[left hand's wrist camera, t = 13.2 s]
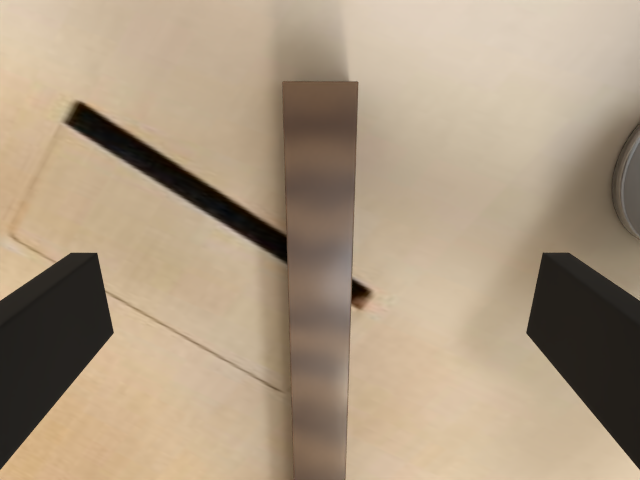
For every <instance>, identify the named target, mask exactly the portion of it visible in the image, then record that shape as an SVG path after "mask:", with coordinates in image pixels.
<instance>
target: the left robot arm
mask: <svg viewBox="0 0 640 480" xmlns="http://www.w3.org/2000/svg"><path fill="white" fill-rule="evenodd" d="M612 196H613V203H614V207H615V210H616V213H617V215H618V217H619V219H620V221H621V223H622V224H623V225H624V227H625V228H626V229H627V230H628V231H629V232H630V233H631V234H632V235H633V236H635V237H636V238H638V239H639V240H640V123H639V124H638V126H637V127H636V128H635V129H634V131H633V132H632V134H631V135H630V137H629V138H628V140H627V141H626V143H625V145H624V147H623V149H622V151H621V153H620V155H619V158H618V161H617V163H616V167H615V170H614V176H613V183H612ZM113 333H114V332H113V327H112V322H111V317H110V313H109V308H108V303H107V298H106V293H105V289H104V284H103V279H102V274H101V269H100V264H99V260H98V255H97V253H70V254H69V255H67V256H66V257H64V258H63V259H61V260H60V261H58V262H57V263H55V264H54V265H52V266H51V267H49V268H48V269H47V270H45V271H44V272H42V273H41V274H39V275H38V276H36V277H35V278H33V279H32V280H30V281H29V282H27V283H26V284H24V285H23V286H21V287H20V288H19V289H17V290H16V291H14V292H13V293H11V294H10V295H8V296H7V297H5V298H4V299H2V300H1V301H0V469H1V468H2V467H3V466H4V465H5V463H6V462H7V461H8V460H9V459H10V457H11V456H12V455H13V454H14V453H15V451H16V450H17V449H18V448H19V447H20V445H21V444H22V443H23V442H24V441H25V439H26V438H27V437H28V436H29V435H30V433H31V432H32V431H33V430H34V428H35V427H36V426H37V425H38V424H39V422H40V421H41V420H42V419H43V418H44V416H45V415H46V414H47V413H48V412H49V410H50V409H51V408H52V407H53V406H54V404H55V403H56V402H57V401H58V400H59V398H60V397H61V396H62V395H63V394H64V392H65V391H66V390H67V389H68V387H69V386H70V385H71V384H72V383H73V381H74V380H75V379H76V378H77V377H78V375H79V374H80V373H81V372H82V371H83V369H84V368H85V367H86V366H87V365H88V363H89V362H90V361H91V360H92V359H93V357H94V356H95V355H96V354H97V352H98V351H99V350H100V349H101V348H102V346H103V345H104V344H105V343H106V342H107V340H108V339H109V338H110V337H111V336H112V334H113ZM526 333H527V334H528V336H529V337H530V338H531V339H532V340H533V342H534V343H535V344H536V345H537V346H538V348H539V349H540V350H541V351H542V352H543V354H544V355H545V356H546V357H547V359H548V360H549V361H550V362H551V363H552V365H553V366H554V367H555V368H556V369H557V371H558V372H559V373H560V374H561V375H562V377H563V378H564V379H565V380H566V381H567V383H568V384H569V385H570V386H571V387H572V389H573V390H574V391H575V392H576V394H577V395H578V396H579V397H580V398H581V400H582V401H583V402H584V403H585V404H586V406H587V407H588V408H589V409H590V410H591V412H592V413H593V414H594V415H595V416H596V418H597V419H598V420H599V421H600V422H601V424H602V425H603V426H604V427H605V428H606V430H607V431H608V432H609V433H610V435H611V436H612V437H613V438H614V439H615V441H616V442H617V443H618V444H619V445H620V447H621V448H622V449H623V450H624V451H625V453H626V454H627V455H628V456H629V457H630V459H631V460H632V461H633V462H634V463H635V465H636V466H637V467H638V468H639V469H640V301H639V300H638V299H636V298H635V297H633V296H632V295H630V294H629V293H627V292H626V291H624V290H623V289H621V288H620V287H619V286H617V285H616V284H614V283H613V282H611V281H610V280H608V279H607V278H605V277H604V276H602V275H601V274H599V273H598V272H596V271H595V270H593V269H592V268H591V267H589V266H588V265H586V264H585V263H583V262H582V261H580V260H579V259H577V258H576V257H574V256H573V255H571V254H570V253H543V255H542V260H541V264H540V269H539V274H538V279H537V284H536V289H535V293H534V298H533V303H532V308H531V313H530V317H529V322H528V327H527V332H526Z"/></svg>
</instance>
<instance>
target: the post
mask: <svg viewBox="0 0 640 480" xmlns="http://www.w3.org/2000/svg"><path fill="white" fill-rule="evenodd" d="M282 87H283V121H284V156H285V191H286V225H287V260H288V294H289V329H290V363H291V398H292V433H293V467H294V480H345V477H346V446H347V415H348V384H349V353H350V322H351V291H352V260H353V229H354V198H355V167H356V136H357V105H358V82H320V81H284V82H283V83H282Z"/></svg>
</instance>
